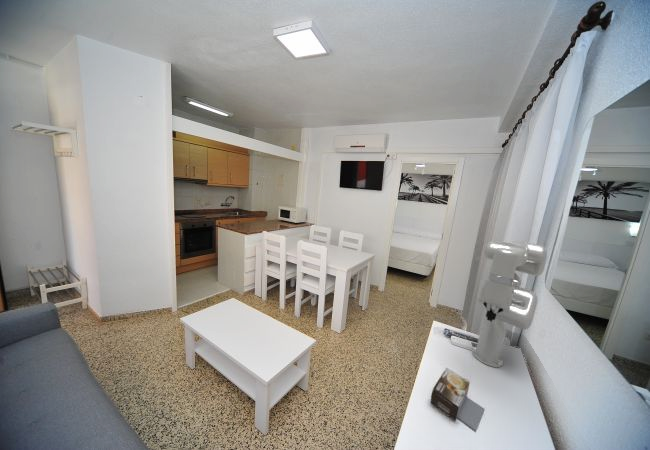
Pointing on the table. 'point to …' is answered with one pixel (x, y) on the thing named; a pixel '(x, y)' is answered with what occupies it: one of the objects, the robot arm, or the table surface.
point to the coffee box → (450, 393)
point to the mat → (470, 413)
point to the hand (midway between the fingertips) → (490, 319)
